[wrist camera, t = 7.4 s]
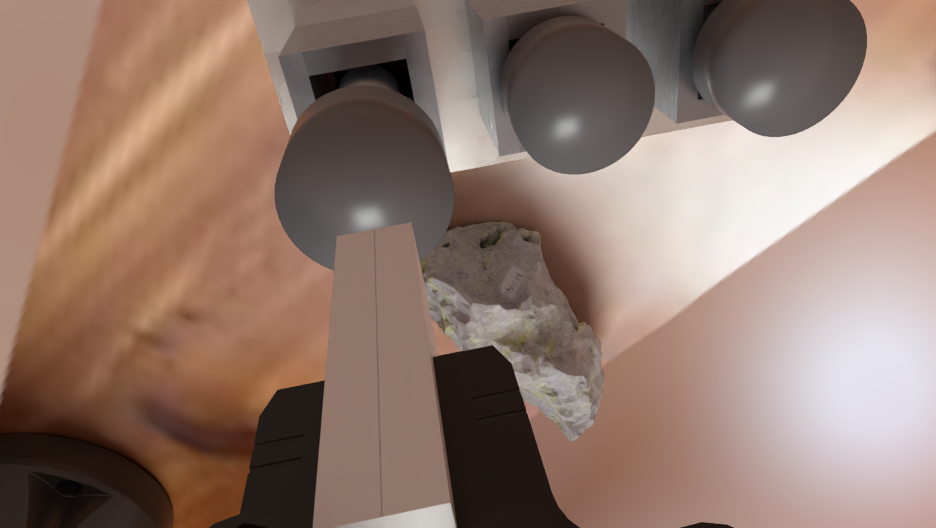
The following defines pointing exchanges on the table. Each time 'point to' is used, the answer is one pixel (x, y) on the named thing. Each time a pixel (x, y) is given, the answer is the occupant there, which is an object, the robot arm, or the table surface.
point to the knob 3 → (778, 61)
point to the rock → (516, 317)
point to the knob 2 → (576, 94)
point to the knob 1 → (363, 168)
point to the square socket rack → (469, 58)
